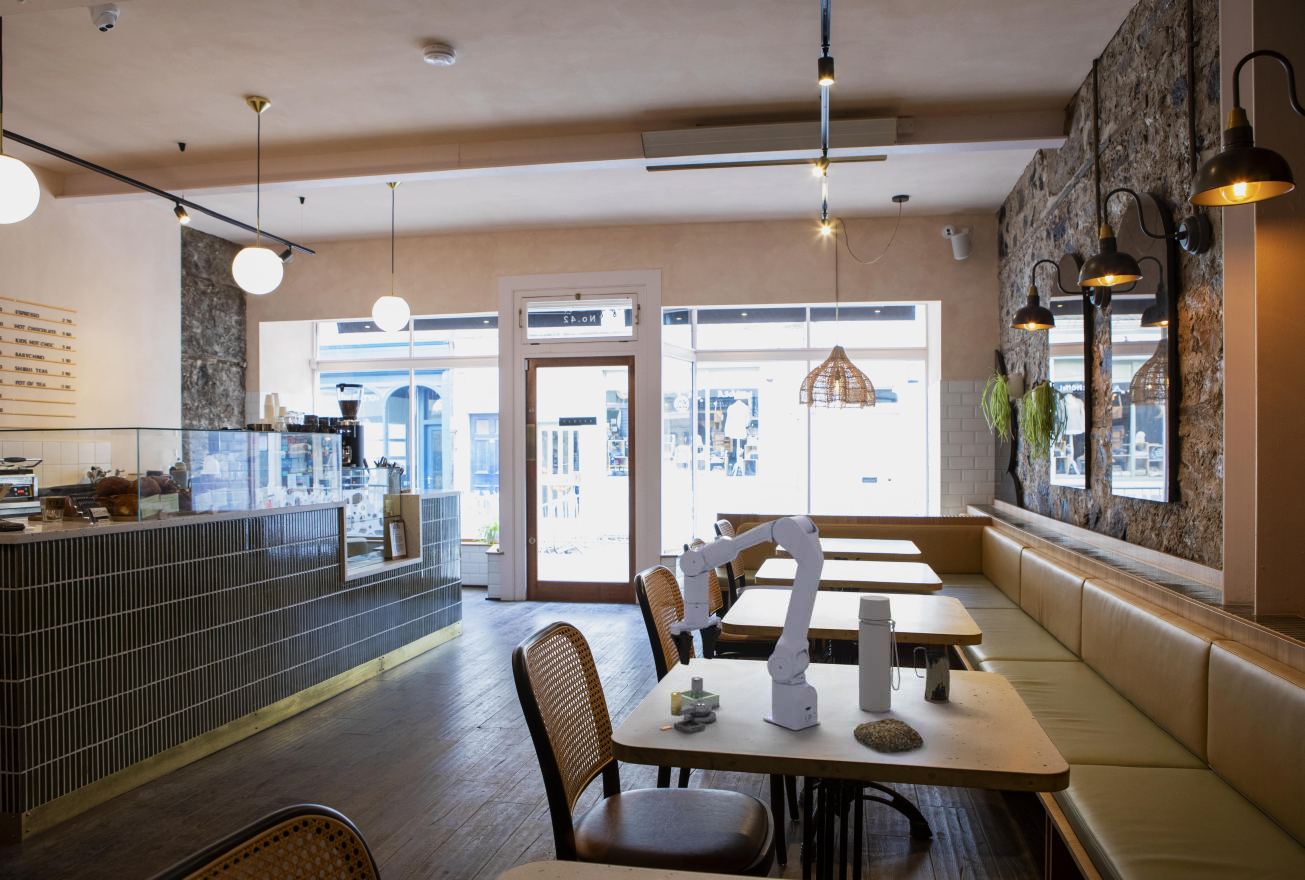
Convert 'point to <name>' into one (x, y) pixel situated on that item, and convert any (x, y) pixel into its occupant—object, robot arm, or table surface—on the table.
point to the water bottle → (875, 654)
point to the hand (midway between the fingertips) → (696, 661)
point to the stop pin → (697, 688)
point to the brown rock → (888, 735)
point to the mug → (936, 676)
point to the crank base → (693, 723)
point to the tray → (706, 697)
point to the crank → (689, 706)
